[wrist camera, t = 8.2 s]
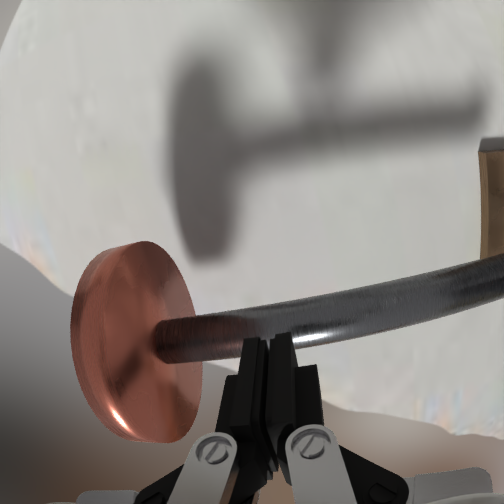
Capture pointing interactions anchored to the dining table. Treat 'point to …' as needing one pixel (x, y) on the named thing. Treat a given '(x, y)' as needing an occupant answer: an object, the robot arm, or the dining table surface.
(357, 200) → the dining table surface
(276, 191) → the dining table surface
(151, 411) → the copper disc on rod
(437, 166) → the dining table surface
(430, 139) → the dining table surface
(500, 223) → the eye post
